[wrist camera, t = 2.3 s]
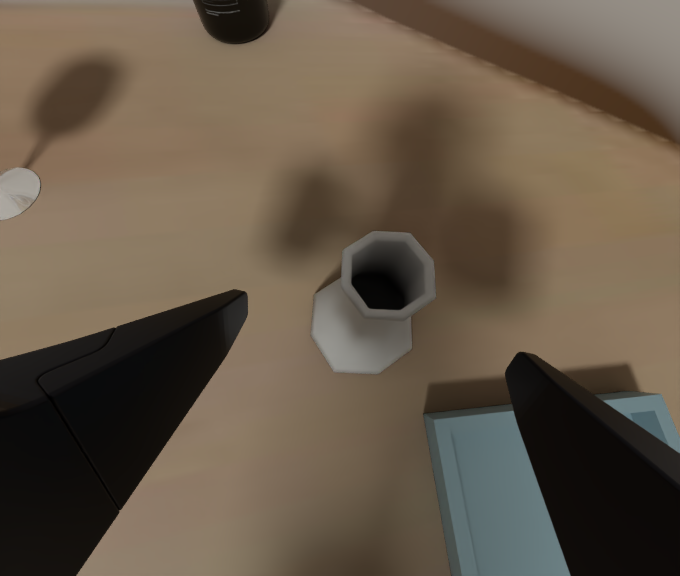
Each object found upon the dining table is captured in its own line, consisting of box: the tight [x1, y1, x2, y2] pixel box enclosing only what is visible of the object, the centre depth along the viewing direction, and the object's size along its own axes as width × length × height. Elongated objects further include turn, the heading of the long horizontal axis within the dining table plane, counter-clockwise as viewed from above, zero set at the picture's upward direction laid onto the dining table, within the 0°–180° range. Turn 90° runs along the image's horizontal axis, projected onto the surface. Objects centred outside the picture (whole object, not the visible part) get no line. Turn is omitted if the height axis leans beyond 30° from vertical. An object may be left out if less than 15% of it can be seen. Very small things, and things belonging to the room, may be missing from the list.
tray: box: [423, 391, 680, 576], centre depth 14 cm, size 14×14×2 cm
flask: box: [311, 231, 436, 374], centre depth 13 cm, size 7×7×10 cm
